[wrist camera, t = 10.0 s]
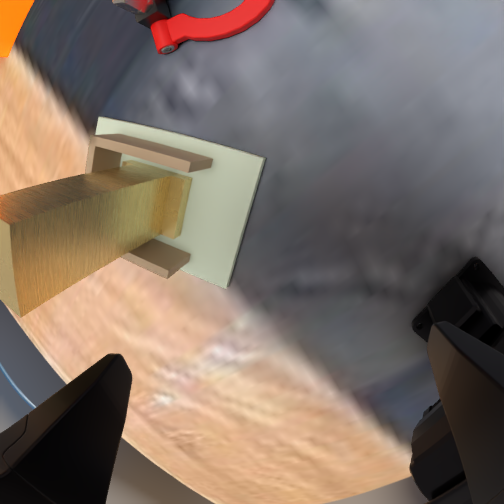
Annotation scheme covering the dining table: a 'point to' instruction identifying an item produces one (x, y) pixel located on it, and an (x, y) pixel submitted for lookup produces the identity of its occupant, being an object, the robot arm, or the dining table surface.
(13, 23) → the orange juice
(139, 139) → the pale green slotted base
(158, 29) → the tow hook
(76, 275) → the gold square pillar
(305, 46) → the dining table surface
